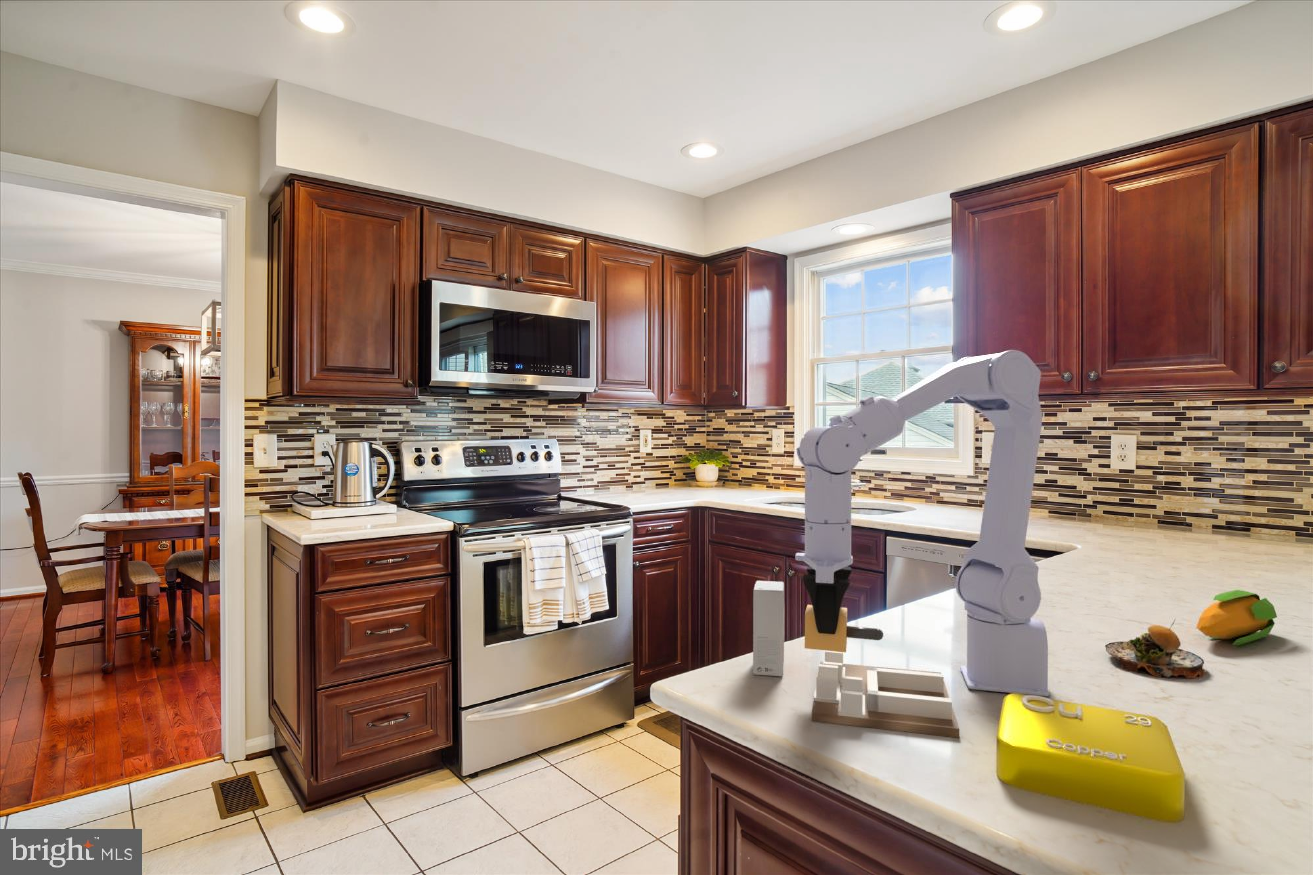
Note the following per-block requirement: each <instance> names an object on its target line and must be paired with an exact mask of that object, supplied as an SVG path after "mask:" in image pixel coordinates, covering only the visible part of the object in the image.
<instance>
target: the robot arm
mask: <svg viewBox="0 0 1313 875" xmlns="http://www.w3.org/2000/svg"><path fill="white" fill-rule="evenodd" d="M1041 376H1042V371H1041V370H1040V368H1039V367H1038V366H1037V365H1036V364H1035V363H1034V361H1033V360H1032V359H1031V358H1030V356H1028V355H1027V354H1026V353H1025V352H1023V351H1021V350H1016V349H1009V350H1006V351H1003V352H999V353H992V354H985V355H978V356H965V357H964V356H963V357H962V358H961V359H958V360H957V361H955V362H954V361H953V362H952V363H948V364H946V365H944V366H943V367H942V368H940V369H938V370H937V371H936V372H933V373H932V374H931V375H929V376H927V377H926V378H923V379H922V380H920V381H919V382H917V383H916V384H914V385H912V386H911V387H909V388H907V389H906V390H905V391H903V392H901V393H900V394H898V395H896V396H895V397H893V398H892V399H890V398H887V397H884V396H875V397H874V396H872V395H871V396H865V397H863V398H862V399H860V400H859V404H860V405H859V406H857V407H855V408H853V409H852V410H850V411H848V412H846V413H844V414H842V415H839V414H835V415H833V416H831V417H830V418H829V424H828V426H815V427H812V428H810V429H809V430H807V431H806V432H805V433H804V434H803V437H802V438H801V439H800V442H799V443H800V444H799V446H798V447H797V448H796V455H797V458H798V460H799V462H800V464H802V466H803V468H804V552H796V553H795V556H794V557H795V558H794V560H795V561H798V562H804V563H805V564H807V565H808V566H807V568H806V572H807V574H806V573H804V574H803V575H802V582H803V585H804V586H805V589H806V591H807V593H808V595H809V598H810V602H811V605H812V606H813V611H814V617H815V622H816V627H817V631H818V633H823V634H835V633H836V629H837V625H838V619H839V613H840V607H841V606H842V602H843V599H844V596H845V594H846V592H847V590H848V588H849V586H850V584H851V579H850V578H849V577H850V576H851V574H852V567H851V566H850V565H852V564H853V563H854V557H853V555H852V470H854V469H855V468H856V467H857V465H858V464H859V462H860V460H861V457H864V455H867V454H868V453H870V452H872V451H874V450H876V449H877V448H879V447H881V446H883V445H885V444H886V443H888V442H890V441H891V440H893V439H894V440H895V438H897V437H899V436H900V435H902V433H903V431H904V428H905V427H904V426H905V423H906V421H908V420H910V419H912V418H914V417H916V416H918V415H919V414H923V413H924V412H926V411H928V410H930V409H933V408H934V407H936V406H938V405H940V404H942V403H945V402H946V401H948V400H950V399H952V398H956V397H957V398H958V399H959V400H960V401H962V402H964V403H965V404H967V405H968V406H969V407H971V408H973V409H974V410H976V411H977V412H979V413H981V414H982V415H983V416H985V418H986V419H987V420H988V421H989V422H990V423H991V425H992V426H993V428H994V432H993V438H992V447H991V454H990V458H989V459H990V462H989V468H988V475H987V483H986V490H985V496H984V503H983V504H984V505H983V510H982V517H981V518H982V519H981V523H980V524H981V525H980V532H979V537H978V538H979V540H978V541H977V542H976V543H975V544H973V545H972V546H971V547H969V548H968V549H967V550H966V552H965V554H964V560H963V564H962V565H961V567H960V569H959V570H958V572H957V573H956V577H955V582H954V583H955V590H956V594H957V595H958V597H959V599H960V600H961V601H962V602H964V610H965V611H966V665H960V666H959V668H960V671H961V674H962V676H963V679H964V680H965V683H966V685H967V686H966V687H967V688H968V689H970V690H976V691H978V690H979V691H989V692H1000V693H1009V694H1011V693H1018V694H1024V695H1034V696H1041V697H1049V696H1050V692H1049V690H1048V688H1049V686H1048V685H1049V681H1048V680H1049V675H1048V674H1049V672H1048V671H1049V669H1048V668H1049V661H1048V660H1049V657H1048V656H1049V645H1048V642H1049V641H1048V635H1047V629H1046V626H1045V623H1044V622H1043V621H1042V620H1041V619H1038V618H1037V619H1035V618H1033V617H1034V616H1035V615H1036V613H1037V611H1038V609H1039V607H1040V606H1041V600H1042V593H1041V589H1040V585H1039V581H1038V580H1039V578H1038V577H1039V566H1038V564H1037V563H1036V562H1035V560H1034V559H1033V558H1032V556H1031V555H1030V553H1029V552H1028V551H1027V550H1026V548H1025V546H1026V540H1027V532H1028V525H1029V524H1028V523H1029V519H1030V517H1029V516H1030V511H1031V504H1032V496H1033V491H1034V490H1033V488H1034V484H1035V483H1034V482H1035V475H1036V474H1035V473H1036V468H1037V467H1036V466H1037V461H1038V453H1039V448H1040V447H1039V446H1040V440H1041V438H1040V437H1041V432H1042V423H1043V413H1042V412H1043V411H1042V406H1041V402H1040V399H1039V392H1040V383H1041Z"/></svg>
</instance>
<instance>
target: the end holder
mask: <svg viewBox="0 0 1313 875" xmlns="http://www.w3.org/2000/svg"><path fill="white" fill-rule="evenodd" d="M874 667H875V666H874ZM874 667H867V704H868V711H875V712H885V713H894V714H903V715H912V716H922V717H931V718H940V719H949V720H952V708H953V701H952V698H951V697H949V698H942V697H932V696H922V695H912V694H902V693H892V692H882V691H878V686H879V687H889V688H899V689H909V690H919V691H929V692H940V693H944V683H945V680H944V674H943V673H941V672H940V673H941V674H940V673H929V672H930V671H929V672H918V671H919V670H918V671H907V670H908V669H907V670H896V669H897V668H896V669H885V668H886V667H885V668H874Z"/></svg>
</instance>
